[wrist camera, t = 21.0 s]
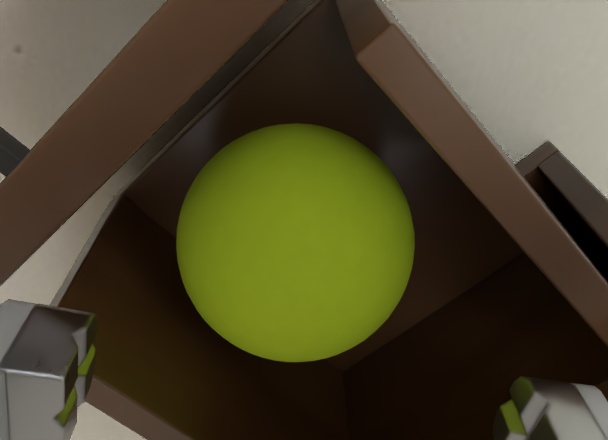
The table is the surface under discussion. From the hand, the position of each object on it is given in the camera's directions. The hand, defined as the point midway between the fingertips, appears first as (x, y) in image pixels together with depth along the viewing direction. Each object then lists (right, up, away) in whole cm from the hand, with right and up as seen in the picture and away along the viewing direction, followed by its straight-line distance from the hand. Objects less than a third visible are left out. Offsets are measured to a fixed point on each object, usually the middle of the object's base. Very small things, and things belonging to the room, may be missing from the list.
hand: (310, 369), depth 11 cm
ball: (0, +2, +4) cm, 5 cm away
